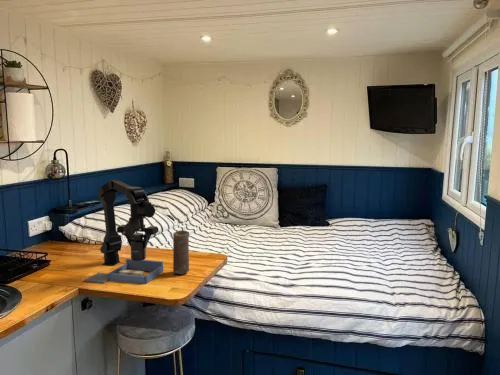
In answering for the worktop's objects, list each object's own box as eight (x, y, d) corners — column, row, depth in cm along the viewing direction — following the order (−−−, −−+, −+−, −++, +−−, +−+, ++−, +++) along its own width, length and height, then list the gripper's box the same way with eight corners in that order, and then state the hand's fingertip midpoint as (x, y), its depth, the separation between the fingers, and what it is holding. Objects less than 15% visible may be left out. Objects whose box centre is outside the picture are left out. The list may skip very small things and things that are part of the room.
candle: (192, 271, 182) (191, 230, 180) (184, 276, 176) (183, 234, 173) (178, 269, 185) (177, 229, 182) (170, 274, 178) (169, 233, 176)
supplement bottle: (132, 262, 174) (131, 236, 173) (129, 258, 180) (128, 233, 179) (147, 259, 177) (146, 234, 176) (144, 255, 183) (143, 231, 182)
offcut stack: (115, 279, 173) (115, 271, 172) (119, 277, 176) (119, 269, 175) (141, 282, 170) (141, 273, 169) (145, 279, 173) (144, 271, 172)
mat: (84, 281, 170) (84, 280, 170) (98, 273, 180) (98, 272, 180) (103, 283, 168) (103, 282, 168) (117, 275, 177) (116, 274, 177)
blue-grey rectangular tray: (107, 280, 171) (107, 269, 171) (127, 268, 187) (127, 258, 187) (146, 283, 167) (145, 272, 166) (163, 271, 183) (163, 261, 182)
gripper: (108, 217, 170) (110, 251, 172) (146, 219, 166) (147, 253, 168) (122, 212, 181) (124, 244, 183) (158, 214, 177) (159, 247, 179)
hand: (138, 247), depth 178 cm, fingers closed on supplement bottle, 7 cm apart
